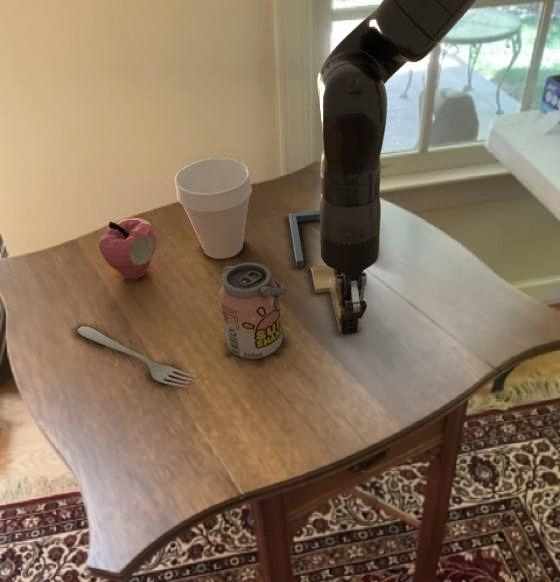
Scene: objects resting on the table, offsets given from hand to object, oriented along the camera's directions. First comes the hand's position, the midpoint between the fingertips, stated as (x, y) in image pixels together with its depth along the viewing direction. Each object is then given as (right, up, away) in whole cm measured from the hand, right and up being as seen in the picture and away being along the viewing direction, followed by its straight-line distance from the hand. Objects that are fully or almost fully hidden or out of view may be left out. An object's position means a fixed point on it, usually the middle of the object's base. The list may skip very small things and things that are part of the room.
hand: (349, 330), depth 94 cm
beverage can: (-13, -2, +2) cm, 13 cm away
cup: (-20, +16, +21) cm, 33 cm away
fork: (-31, -4, +1) cm, 31 cm away
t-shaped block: (-1, +5, +8) cm, 10 cm away
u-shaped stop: (-1, +18, +20) cm, 27 cm away
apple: (-34, +11, +17) cm, 40 cm away
